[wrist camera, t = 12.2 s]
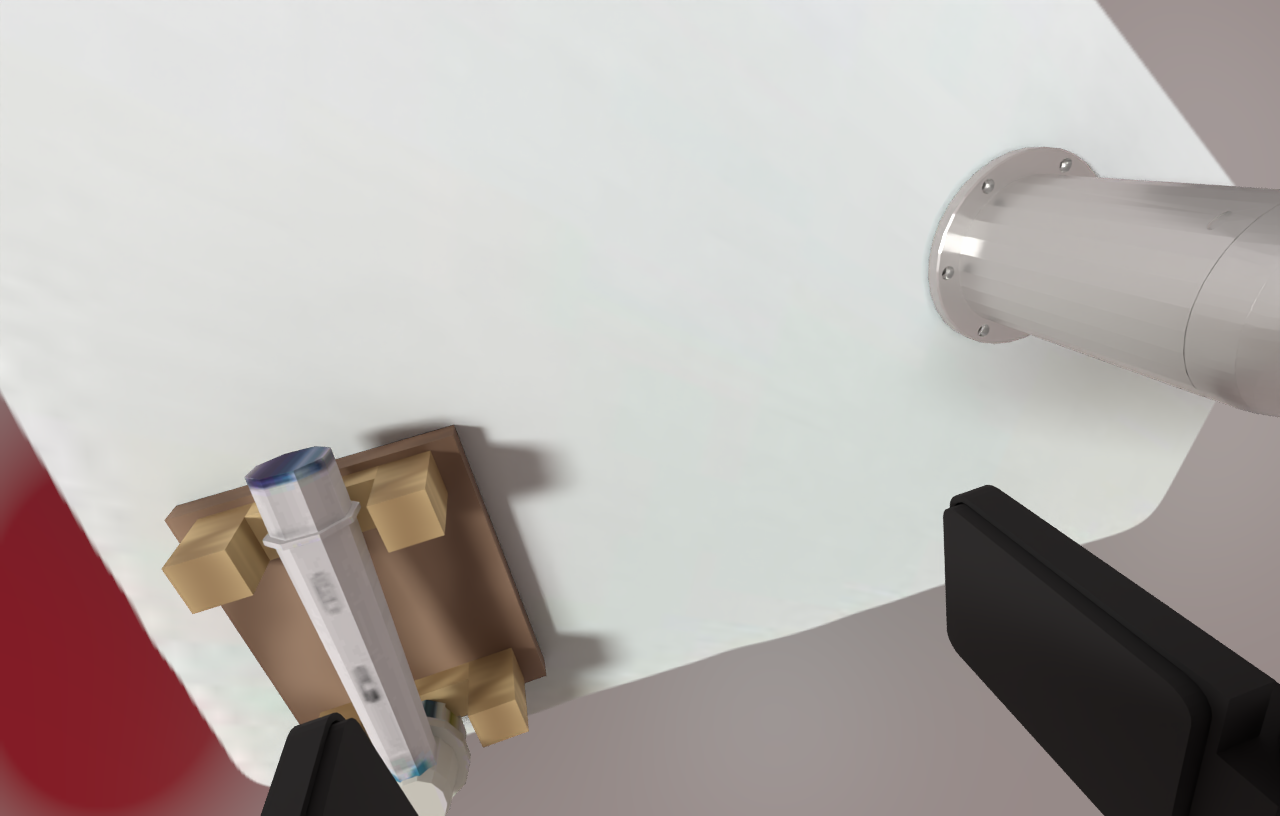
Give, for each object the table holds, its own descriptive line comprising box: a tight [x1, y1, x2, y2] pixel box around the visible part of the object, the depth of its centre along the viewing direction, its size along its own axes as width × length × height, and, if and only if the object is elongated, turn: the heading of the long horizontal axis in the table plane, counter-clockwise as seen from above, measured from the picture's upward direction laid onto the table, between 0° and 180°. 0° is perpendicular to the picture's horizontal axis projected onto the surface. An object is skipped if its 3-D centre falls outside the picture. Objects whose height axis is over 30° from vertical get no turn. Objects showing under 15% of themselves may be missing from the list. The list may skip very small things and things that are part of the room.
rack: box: [162, 425, 546, 747], centre depth 39 cm, size 16×20×6 cm
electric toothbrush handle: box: [245, 446, 471, 816], centre depth 36 cm, size 5×7×25 cm
